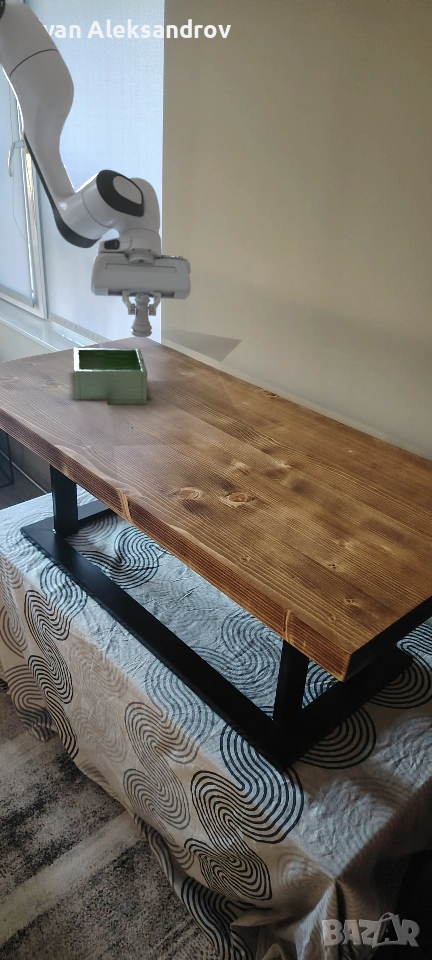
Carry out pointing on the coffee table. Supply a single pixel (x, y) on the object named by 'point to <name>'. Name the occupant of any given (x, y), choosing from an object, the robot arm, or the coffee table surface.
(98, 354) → the green planter box
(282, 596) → the coffee table surface
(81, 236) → the robot arm
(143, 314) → the rook chess piece
